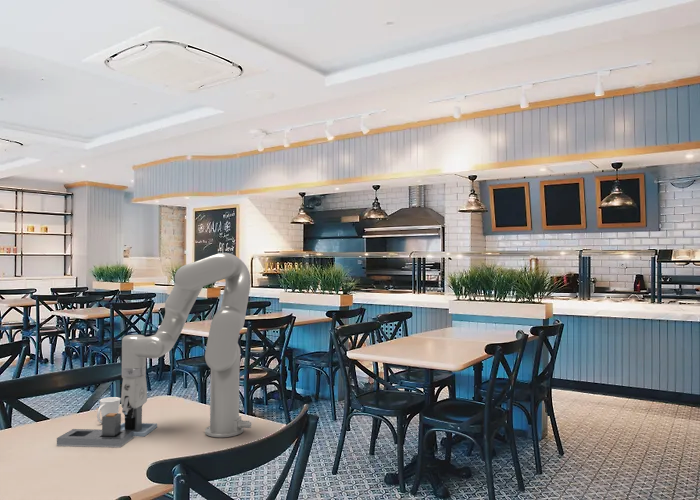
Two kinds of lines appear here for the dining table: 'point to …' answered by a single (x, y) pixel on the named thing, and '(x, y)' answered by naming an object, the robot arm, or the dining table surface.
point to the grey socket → (98, 434)
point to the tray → (143, 429)
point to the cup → (108, 406)
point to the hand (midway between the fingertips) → (133, 426)
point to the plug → (137, 419)
